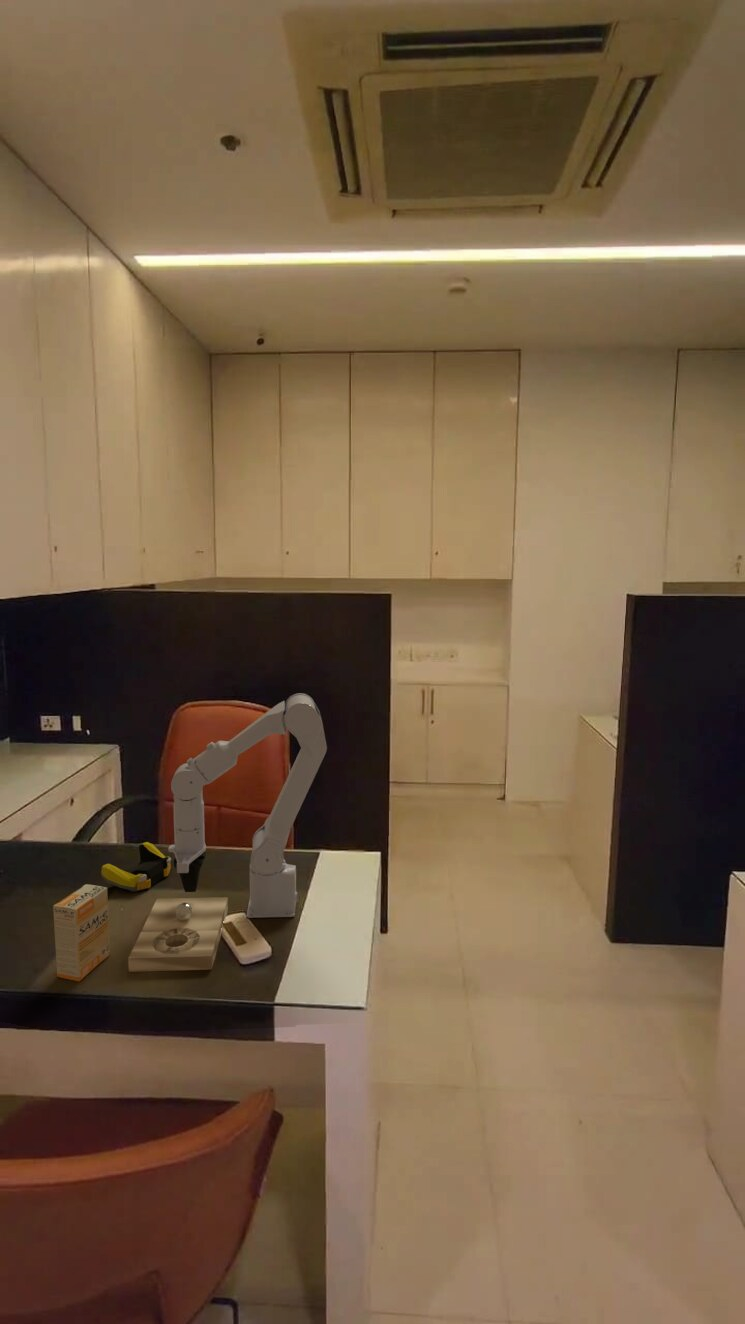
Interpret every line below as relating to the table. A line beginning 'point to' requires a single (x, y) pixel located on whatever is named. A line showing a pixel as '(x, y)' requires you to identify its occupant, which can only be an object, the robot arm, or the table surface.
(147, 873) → the gaming controller
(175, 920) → the beige flat block
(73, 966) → the supplement box
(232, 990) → the table surface
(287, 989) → the table surface
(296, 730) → the robot arm
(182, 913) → the ball
